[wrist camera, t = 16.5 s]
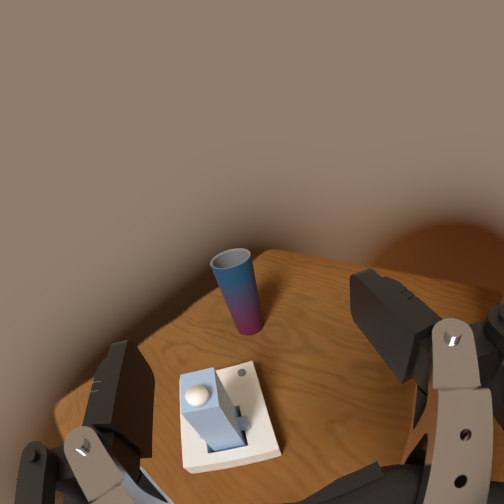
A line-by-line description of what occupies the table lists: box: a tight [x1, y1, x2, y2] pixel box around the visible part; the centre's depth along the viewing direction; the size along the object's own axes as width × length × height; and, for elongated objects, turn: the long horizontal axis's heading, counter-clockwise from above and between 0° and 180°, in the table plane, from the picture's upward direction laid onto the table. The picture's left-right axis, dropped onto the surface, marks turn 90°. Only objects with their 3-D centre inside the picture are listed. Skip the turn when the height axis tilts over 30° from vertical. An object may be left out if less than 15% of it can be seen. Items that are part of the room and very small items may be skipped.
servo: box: [180, 367, 250, 452], centre depth 28 cm, size 6×7×13 cm
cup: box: [210, 248, 263, 335], centre depth 48 cm, size 7×7×15 cm
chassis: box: [180, 361, 282, 473], centre depth 33 cm, size 16×12×3 cm
